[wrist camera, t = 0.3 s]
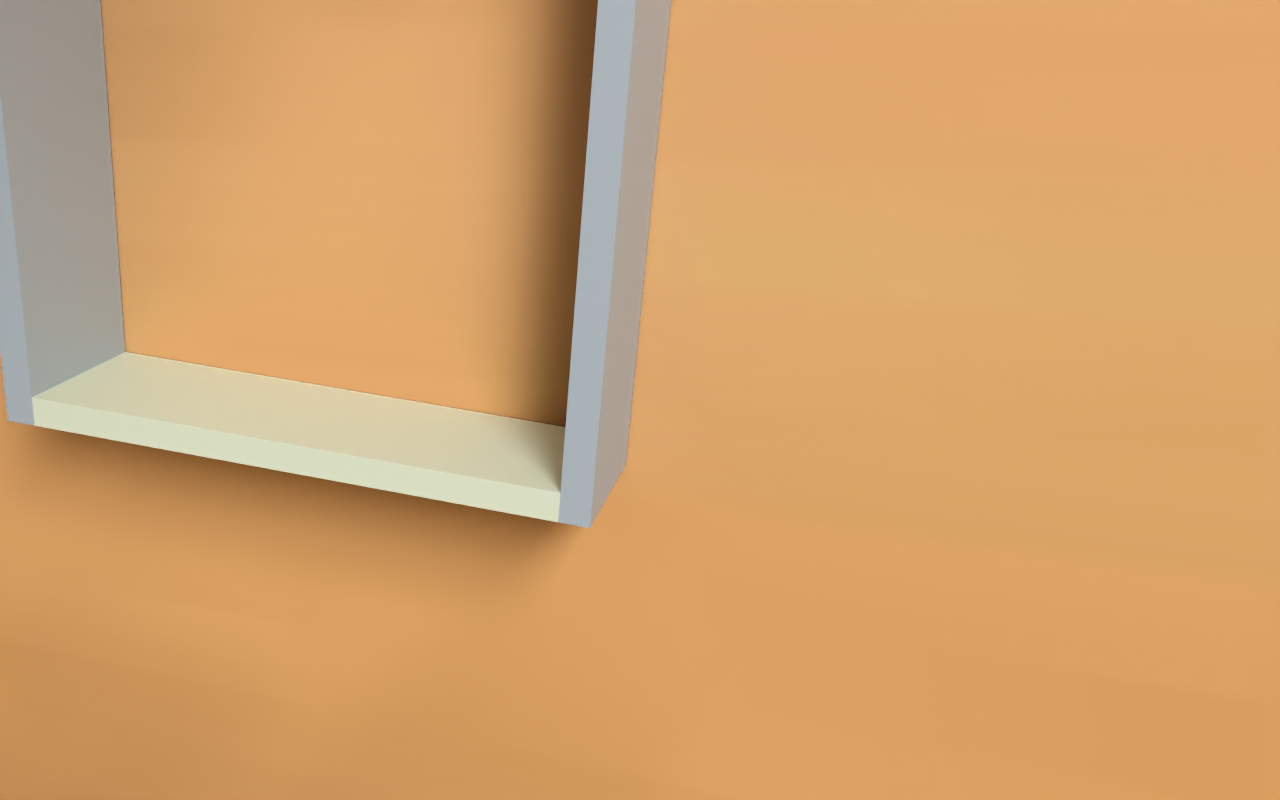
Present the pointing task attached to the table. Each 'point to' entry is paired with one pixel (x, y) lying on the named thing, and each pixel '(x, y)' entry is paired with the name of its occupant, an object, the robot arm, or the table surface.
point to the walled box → (285, 409)
